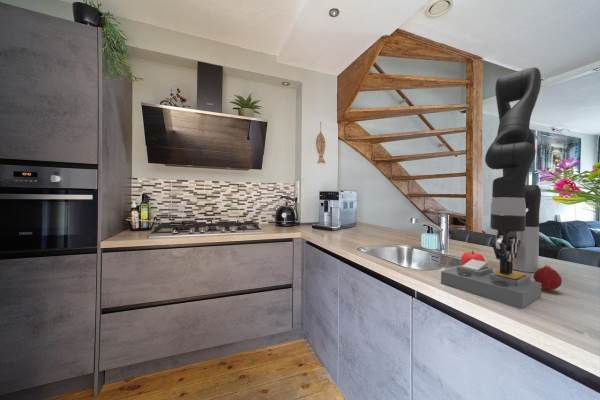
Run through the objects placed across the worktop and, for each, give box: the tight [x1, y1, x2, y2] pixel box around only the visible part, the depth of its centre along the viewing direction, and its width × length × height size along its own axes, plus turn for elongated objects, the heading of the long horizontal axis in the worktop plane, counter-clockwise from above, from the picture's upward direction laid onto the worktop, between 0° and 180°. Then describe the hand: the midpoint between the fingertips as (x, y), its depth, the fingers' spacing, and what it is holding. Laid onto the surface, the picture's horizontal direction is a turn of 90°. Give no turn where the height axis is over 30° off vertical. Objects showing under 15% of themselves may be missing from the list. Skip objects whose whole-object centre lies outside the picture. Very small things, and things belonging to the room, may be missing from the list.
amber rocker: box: [495, 269, 526, 279], centre depth 68 cm, size 7×4×1 cm, turn 121°
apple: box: [460, 250, 486, 266], centre depth 89 cm, size 8×8×8 cm
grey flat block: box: [440, 265, 542, 310], centre depth 71 cm, size 14×20×5 cm
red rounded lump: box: [533, 263, 563, 292], centre depth 71 cm, size 6×6×8 cm
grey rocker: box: [462, 259, 489, 271], centre depth 76 cm, size 7×4×1 cm, turn 121°
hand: (505, 273), depth 67 cm, fingers closed
